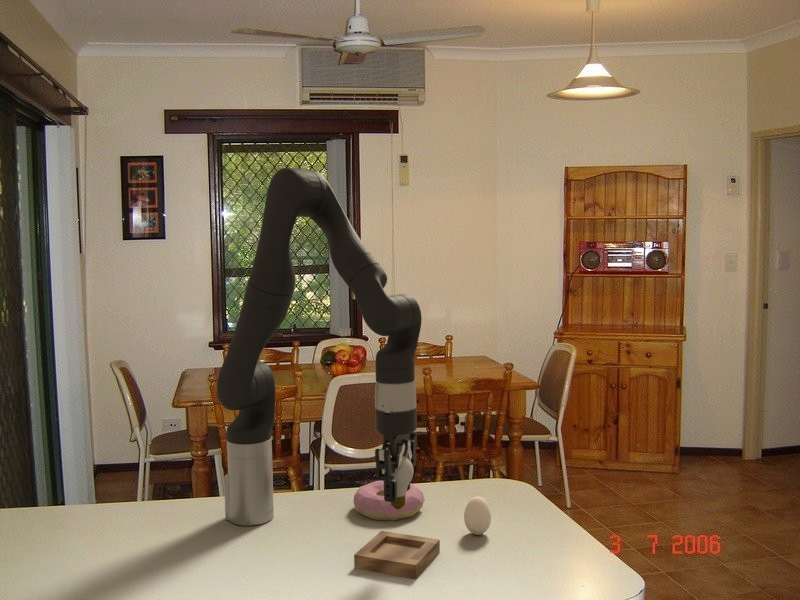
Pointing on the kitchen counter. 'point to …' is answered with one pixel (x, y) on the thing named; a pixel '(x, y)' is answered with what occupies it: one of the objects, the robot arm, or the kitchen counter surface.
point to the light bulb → (402, 481)
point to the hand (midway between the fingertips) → (397, 495)
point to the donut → (376, 508)
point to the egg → (477, 516)
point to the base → (397, 554)
